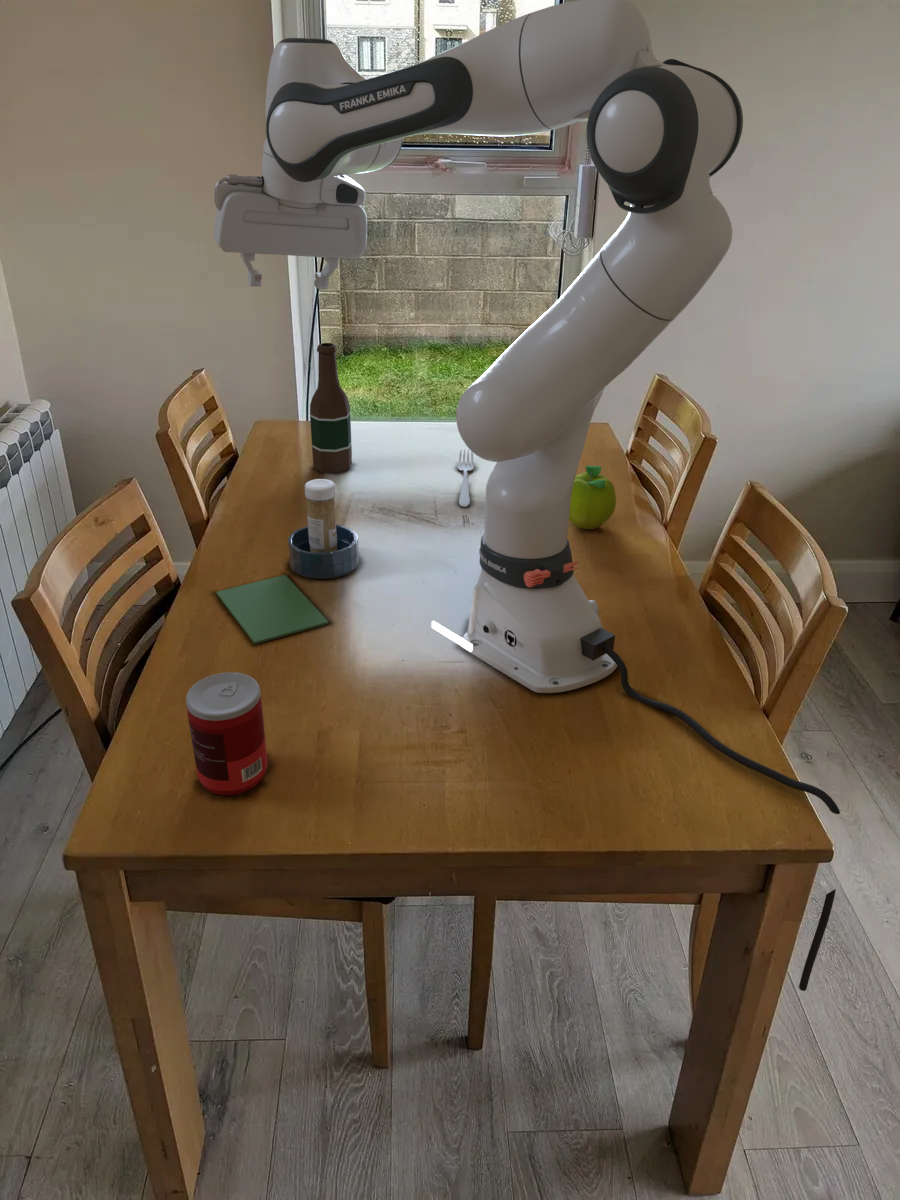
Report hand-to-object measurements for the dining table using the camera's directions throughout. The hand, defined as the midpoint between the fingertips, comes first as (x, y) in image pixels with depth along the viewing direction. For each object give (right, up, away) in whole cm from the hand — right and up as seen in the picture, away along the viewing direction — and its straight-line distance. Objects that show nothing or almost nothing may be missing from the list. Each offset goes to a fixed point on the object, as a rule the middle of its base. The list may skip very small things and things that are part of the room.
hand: (288, 286), depth 127 cm
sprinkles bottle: (+2, -37, +19) cm, 42 cm away
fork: (+25, -21, +50) cm, 59 cm away
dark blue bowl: (+2, -37, +19) cm, 42 cm away
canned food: (-2, -63, -24) cm, 67 cm away
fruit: (+46, -30, +33) cm, 65 cm away
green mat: (-4, -44, +7) cm, 45 cm away
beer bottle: (-1, -17, +55) cm, 58 cm away
